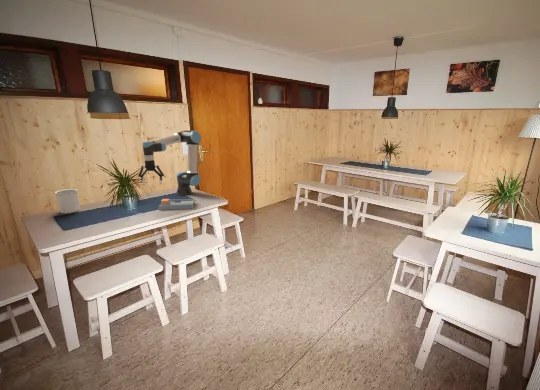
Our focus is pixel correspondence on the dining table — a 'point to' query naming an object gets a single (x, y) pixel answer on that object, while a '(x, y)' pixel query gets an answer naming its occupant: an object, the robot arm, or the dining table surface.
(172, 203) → the trap tray
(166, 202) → the block
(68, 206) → the utensil holder
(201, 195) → the dining table surface
